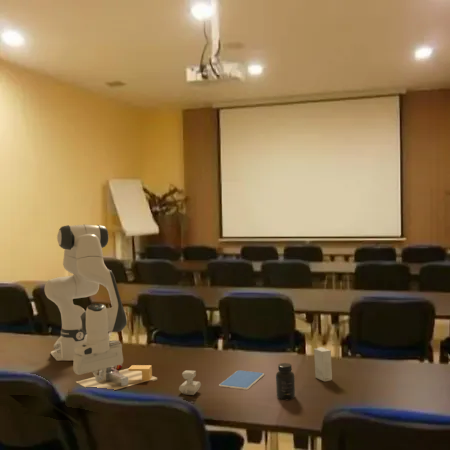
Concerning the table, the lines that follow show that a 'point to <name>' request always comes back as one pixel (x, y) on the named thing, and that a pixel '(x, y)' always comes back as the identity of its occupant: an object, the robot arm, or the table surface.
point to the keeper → (143, 370)
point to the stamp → (189, 383)
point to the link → (115, 377)
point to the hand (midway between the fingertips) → (99, 380)
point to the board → (133, 379)
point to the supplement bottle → (285, 382)
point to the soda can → (117, 365)
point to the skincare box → (323, 364)
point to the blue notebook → (242, 380)
